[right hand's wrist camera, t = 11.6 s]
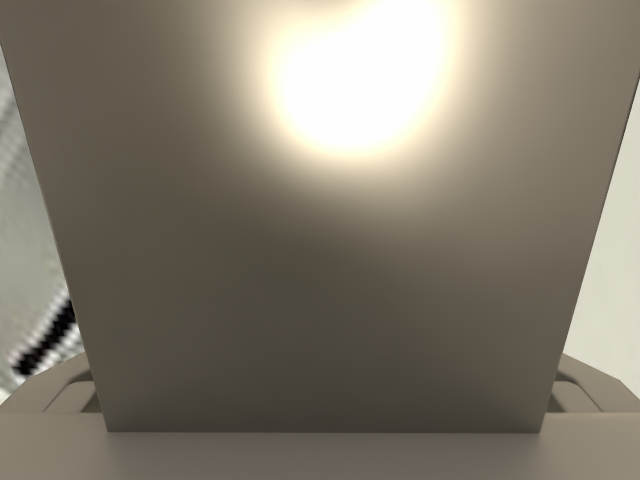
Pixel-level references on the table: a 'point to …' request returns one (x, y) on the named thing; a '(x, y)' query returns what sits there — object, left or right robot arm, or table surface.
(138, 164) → the bar
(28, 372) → the table surface
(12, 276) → the table surface
